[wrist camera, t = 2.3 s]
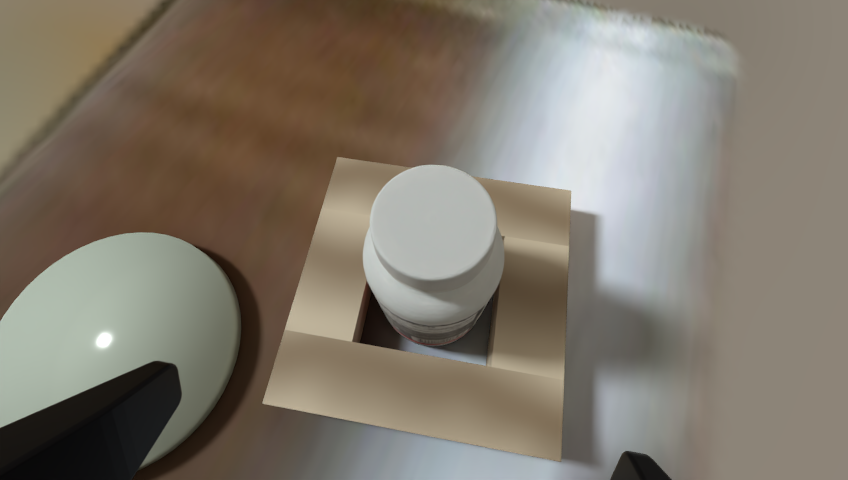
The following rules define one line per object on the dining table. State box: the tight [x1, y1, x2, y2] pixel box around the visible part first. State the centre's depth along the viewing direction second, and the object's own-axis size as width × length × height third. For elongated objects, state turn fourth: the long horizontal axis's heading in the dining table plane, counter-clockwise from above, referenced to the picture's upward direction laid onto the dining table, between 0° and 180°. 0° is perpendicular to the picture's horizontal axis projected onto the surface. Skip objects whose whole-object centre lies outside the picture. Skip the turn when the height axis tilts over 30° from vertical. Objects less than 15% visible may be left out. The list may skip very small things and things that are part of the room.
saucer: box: [0, 232, 241, 470], centre depth 20 cm, size 12×12×1 cm
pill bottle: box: [363, 165, 504, 346], centre depth 16 cm, size 5×5×10 cm
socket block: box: [263, 157, 571, 462], centre depth 20 cm, size 13×13×2 cm
